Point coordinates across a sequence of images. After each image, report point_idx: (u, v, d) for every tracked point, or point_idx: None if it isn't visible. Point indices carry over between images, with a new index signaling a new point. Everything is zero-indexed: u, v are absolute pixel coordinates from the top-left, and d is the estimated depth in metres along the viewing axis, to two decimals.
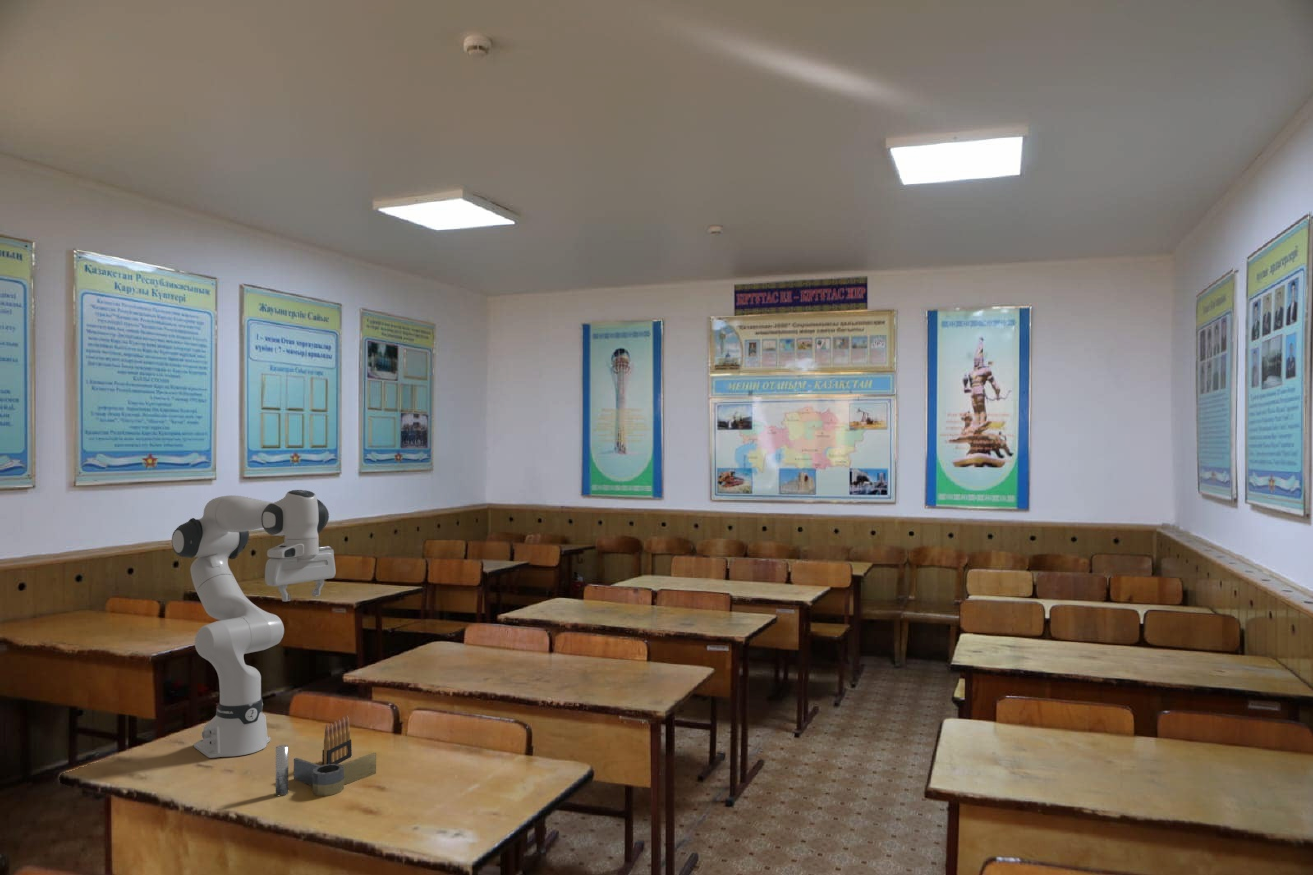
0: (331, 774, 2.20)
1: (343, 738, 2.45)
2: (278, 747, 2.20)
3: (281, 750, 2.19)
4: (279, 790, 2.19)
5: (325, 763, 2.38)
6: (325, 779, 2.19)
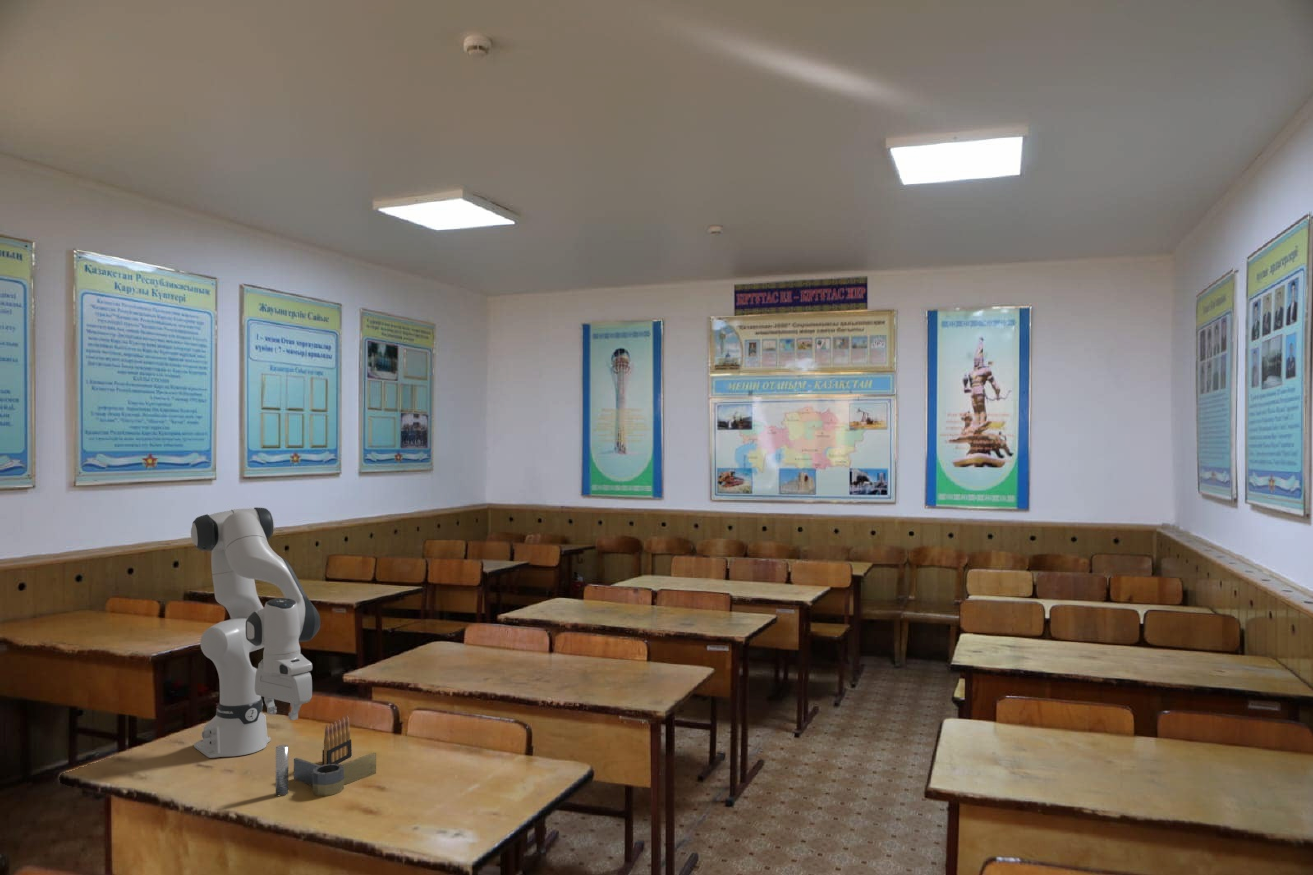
0: (331, 774, 2.20)
1: (343, 738, 2.45)
2: (278, 747, 2.20)
3: (281, 750, 2.19)
4: (279, 790, 2.19)
5: (325, 763, 2.38)
6: (325, 779, 2.19)
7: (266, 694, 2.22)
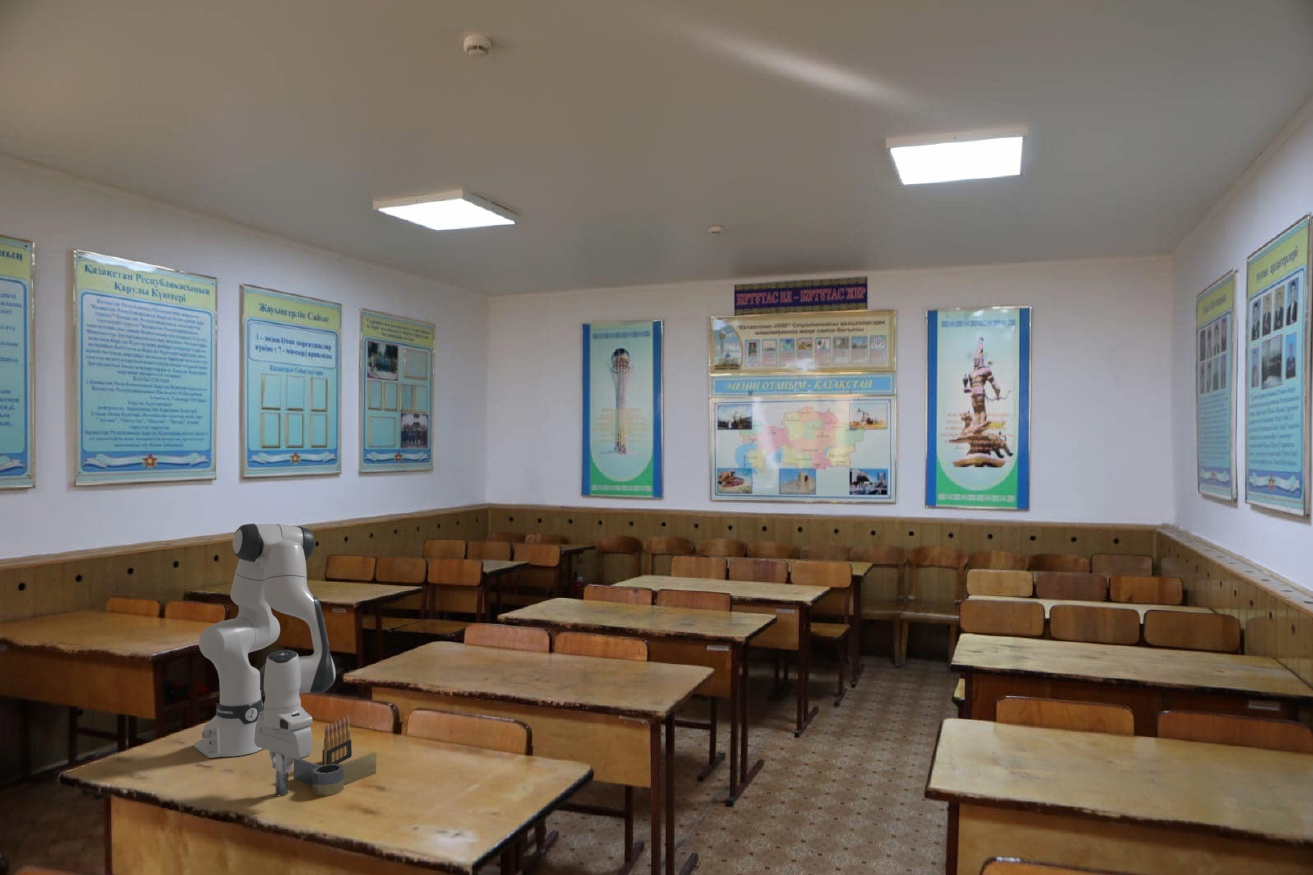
0: (331, 774, 2.20)
1: (343, 738, 2.45)
2: None
3: None
4: (279, 790, 2.19)
5: (325, 763, 2.38)
6: (325, 779, 2.19)
7: (266, 747, 2.22)
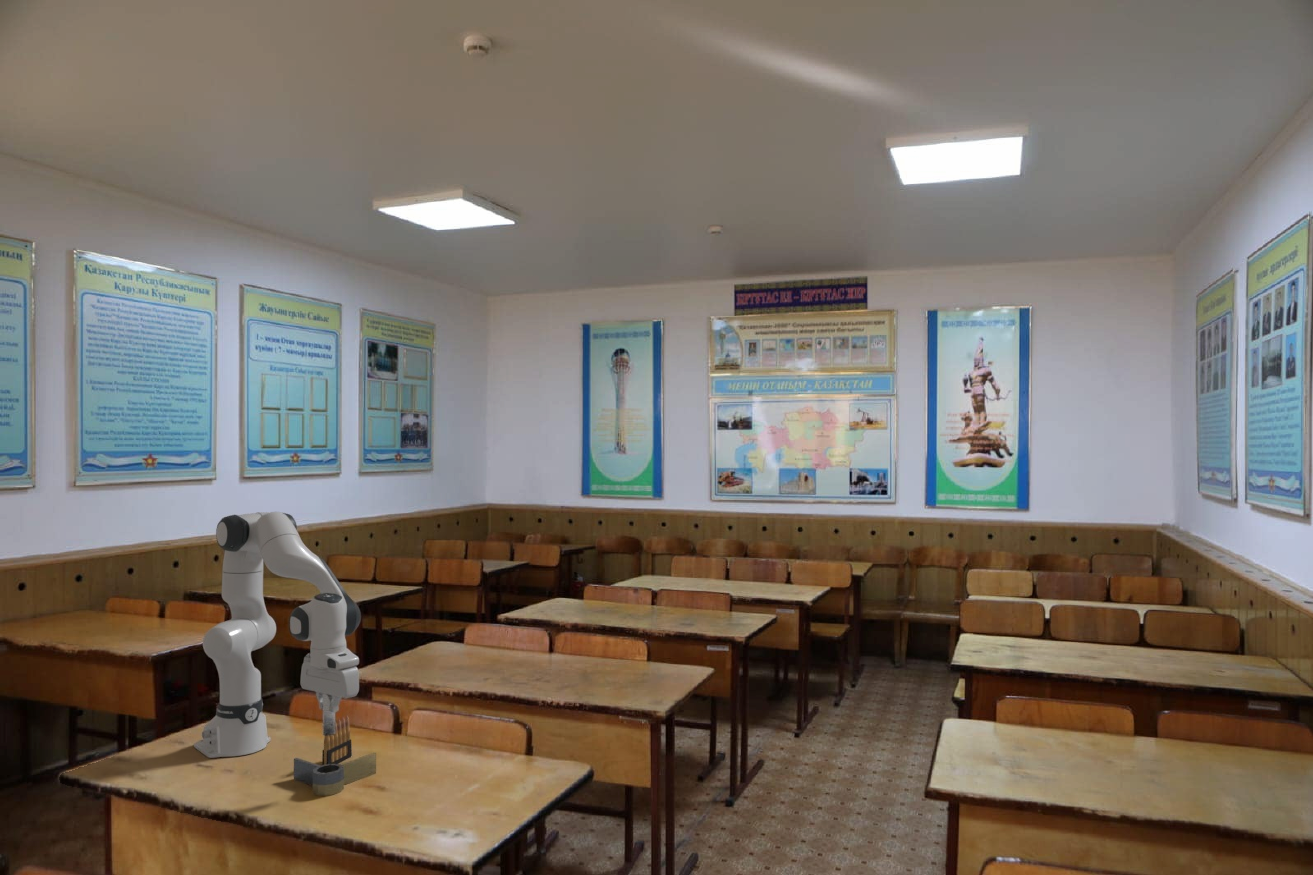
0: (331, 774, 2.20)
1: (343, 738, 2.45)
2: None
3: None
4: (327, 730, 2.22)
5: (325, 763, 2.38)
6: (325, 779, 2.19)
7: (312, 688, 2.24)
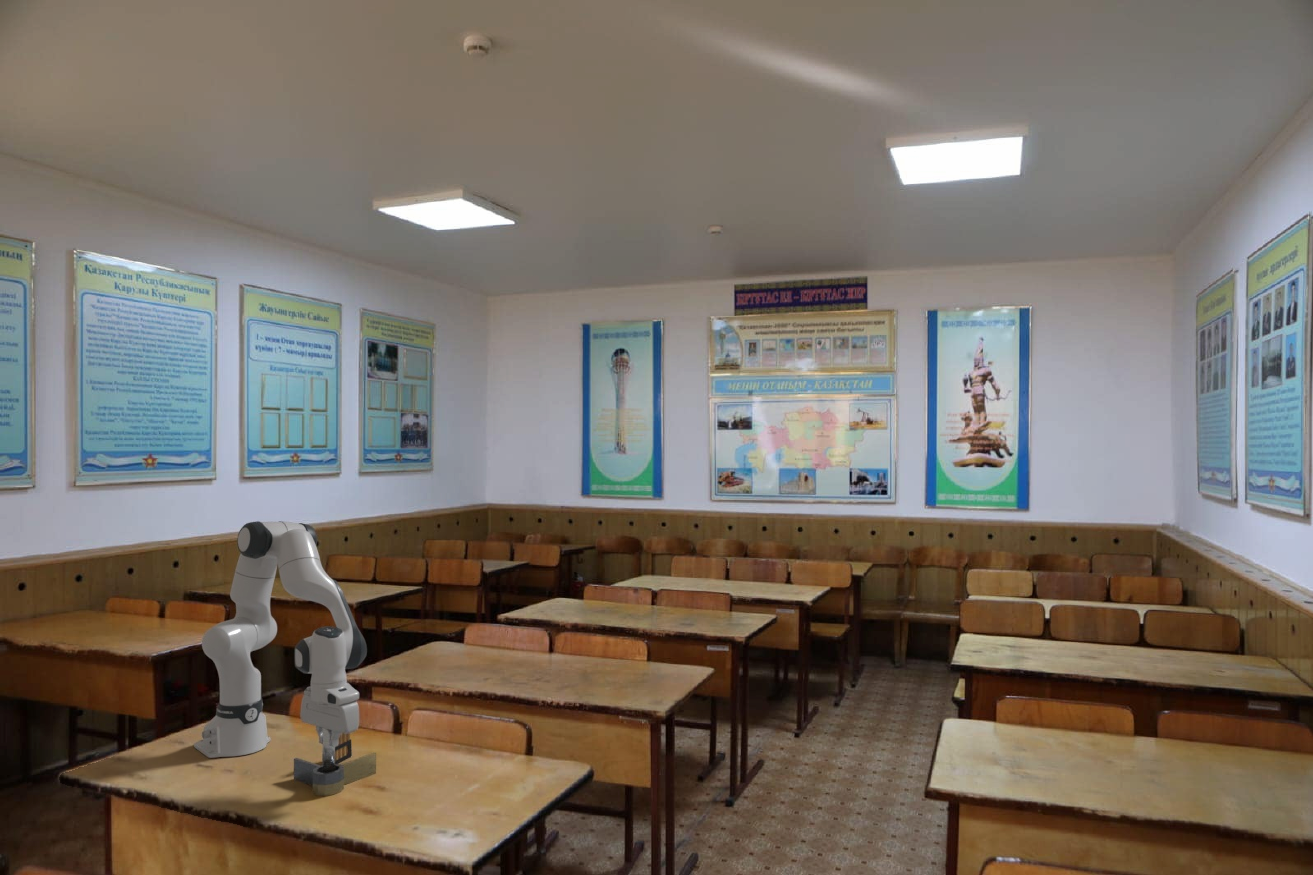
0: (331, 774, 2.20)
1: (343, 738, 2.45)
2: None
3: None
4: (326, 764, 2.21)
5: None
6: (325, 779, 2.19)
7: (312, 722, 2.24)
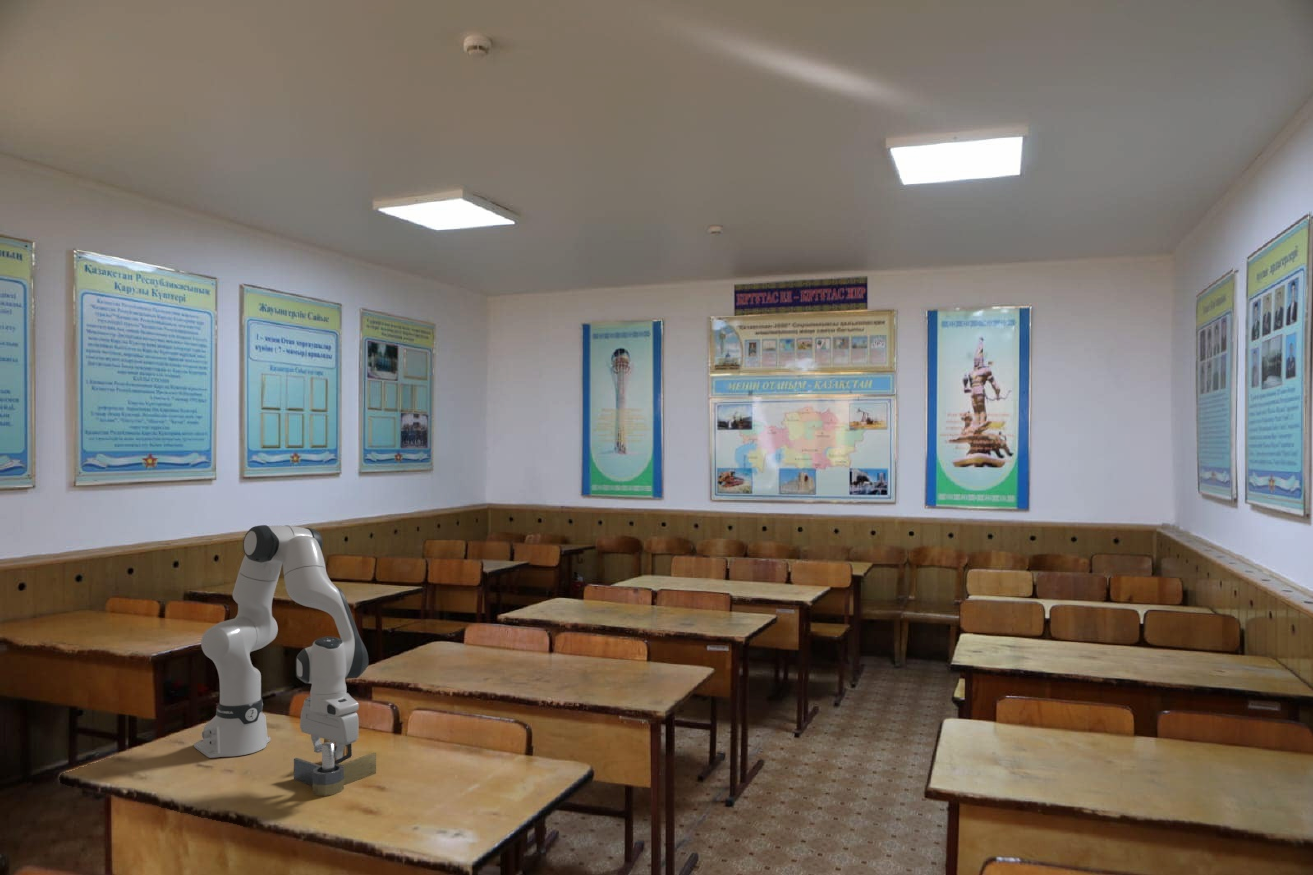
0: (331, 774, 2.20)
1: None
2: (324, 744, 2.22)
3: (328, 746, 2.22)
4: None
5: None
6: (325, 779, 2.19)
7: (312, 732, 2.24)
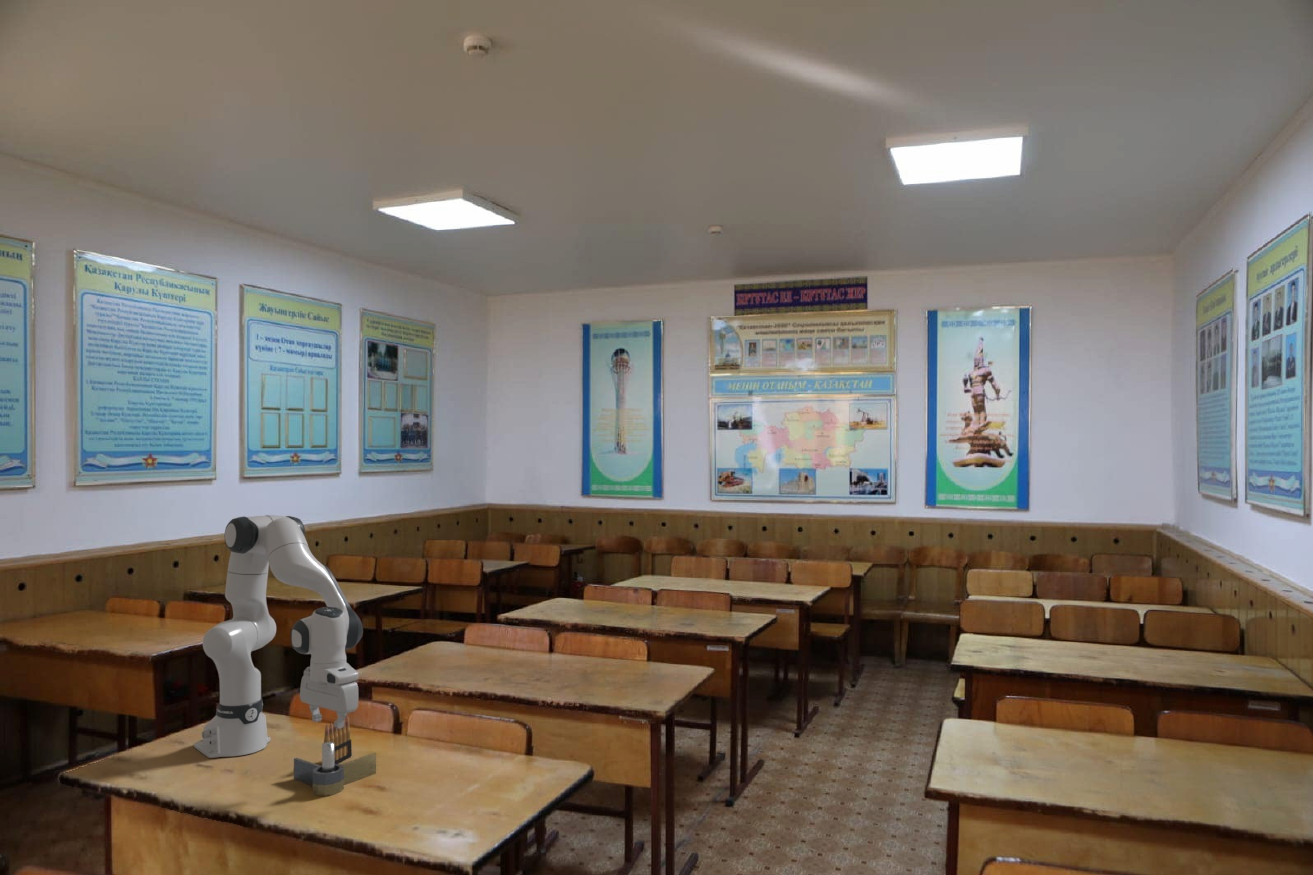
0: (331, 774, 2.20)
1: (343, 738, 2.45)
2: (324, 744, 2.22)
3: (328, 747, 2.22)
4: None
5: None
6: (325, 779, 2.19)
7: (312, 702, 2.24)
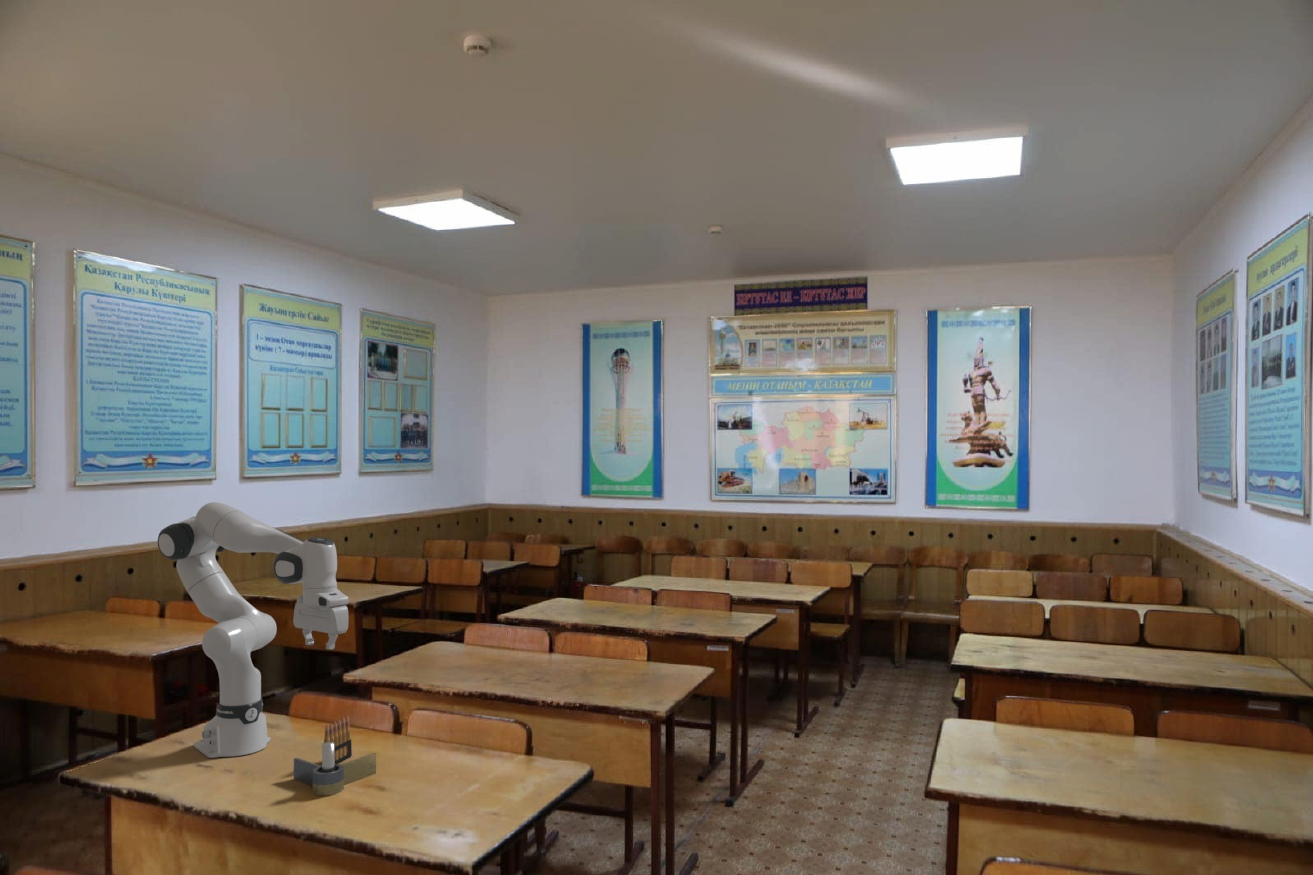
0: (331, 774, 2.20)
1: (343, 738, 2.45)
2: (324, 744, 2.23)
3: (328, 746, 2.22)
4: None
5: None
6: (325, 779, 2.19)
7: (305, 626, 2.38)
